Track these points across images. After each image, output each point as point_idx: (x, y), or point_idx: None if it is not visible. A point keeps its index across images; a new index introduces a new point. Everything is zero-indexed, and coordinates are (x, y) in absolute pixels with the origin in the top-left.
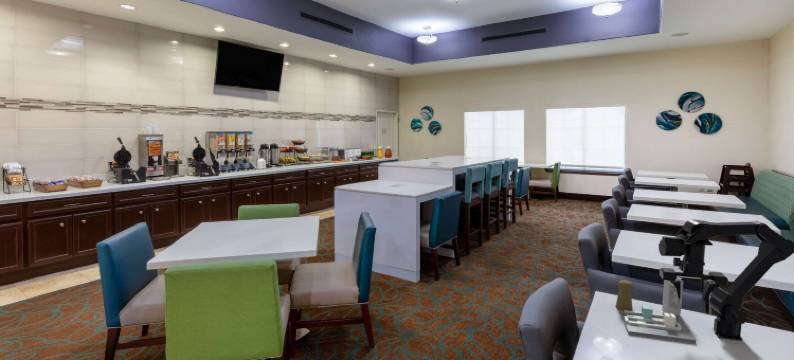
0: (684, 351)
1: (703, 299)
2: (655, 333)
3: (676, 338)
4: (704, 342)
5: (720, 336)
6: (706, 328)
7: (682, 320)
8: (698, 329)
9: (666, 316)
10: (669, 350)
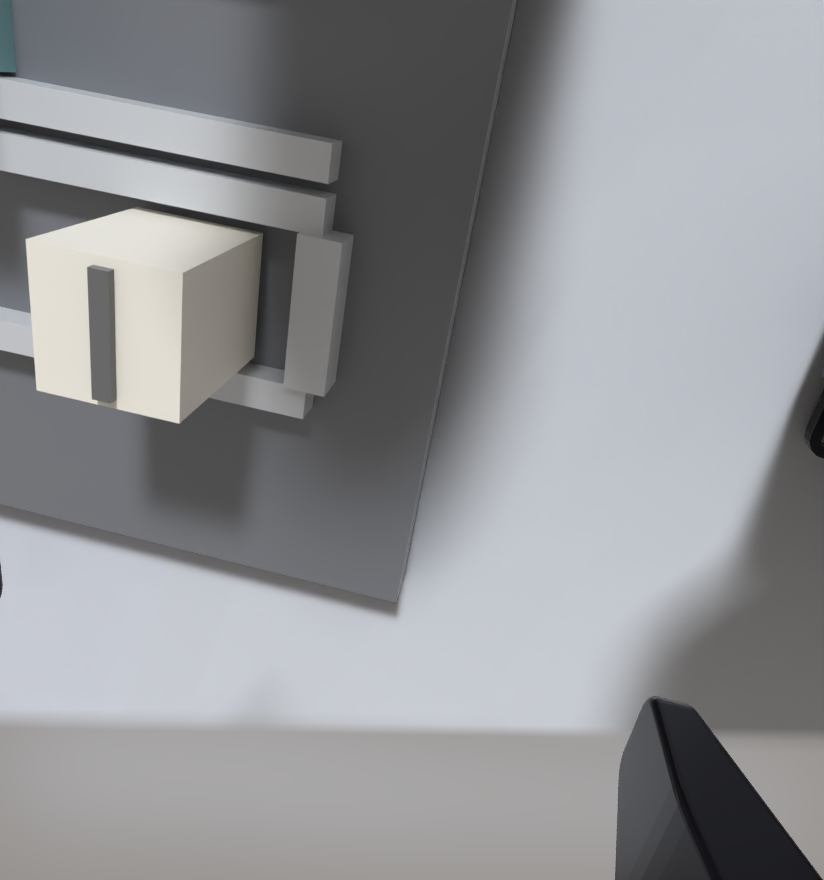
0: (232, 697)
1: (619, 856)
2: (9, 481)
3: (210, 550)
4: (514, 552)
5: (812, 448)
6: (818, 155)
7: (498, 9)
8: (655, 211)
9: (46, 388)
10: (113, 682)
